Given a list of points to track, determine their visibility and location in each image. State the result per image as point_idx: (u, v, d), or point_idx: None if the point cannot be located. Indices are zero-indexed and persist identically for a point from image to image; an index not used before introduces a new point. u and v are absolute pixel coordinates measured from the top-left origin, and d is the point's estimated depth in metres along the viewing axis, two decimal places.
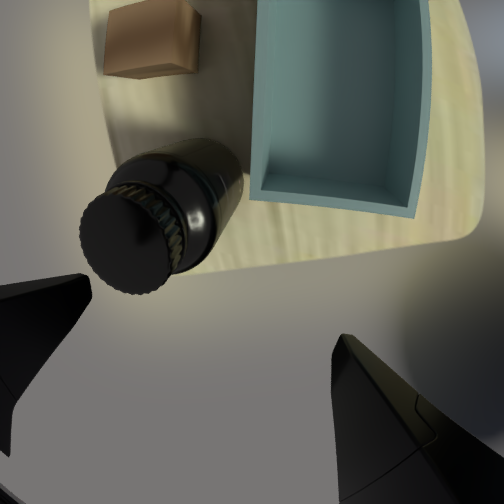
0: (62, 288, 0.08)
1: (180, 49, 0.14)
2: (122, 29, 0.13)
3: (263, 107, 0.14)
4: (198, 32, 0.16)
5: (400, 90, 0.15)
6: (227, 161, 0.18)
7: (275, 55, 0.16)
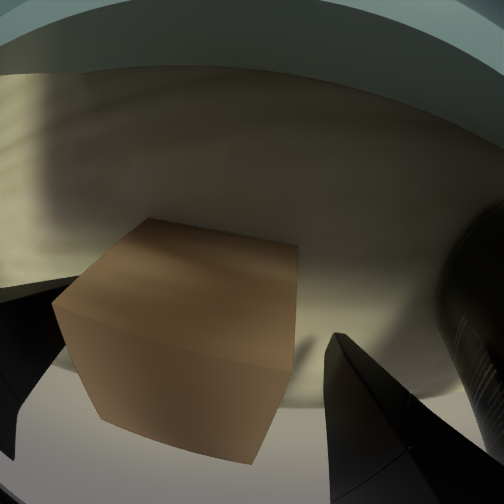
0: None
1: (239, 312, 0.06)
2: (147, 421, 0.07)
3: None
4: (188, 231, 0.09)
5: None
6: None
7: None
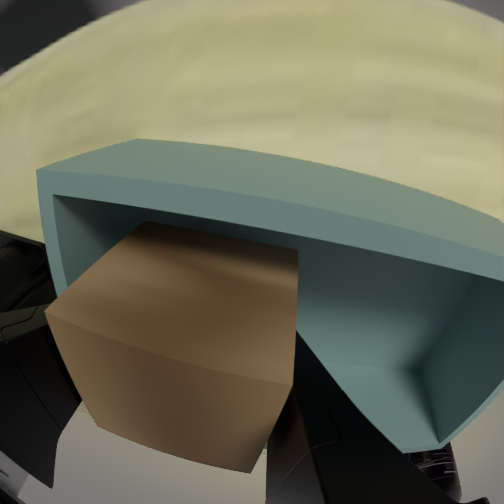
0: None
1: (237, 322, 0.06)
2: (144, 430, 0.06)
3: None
4: (186, 236, 0.09)
5: None
6: None
7: None
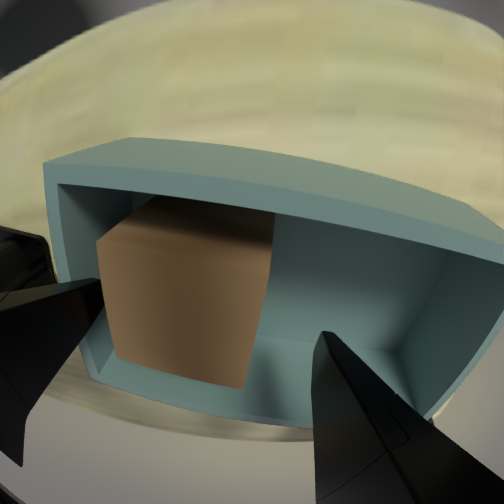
0: (76, 293, 0.08)
1: (232, 245, 0.09)
2: (158, 347, 0.09)
3: None
4: (192, 201, 0.11)
5: None
6: None
7: None
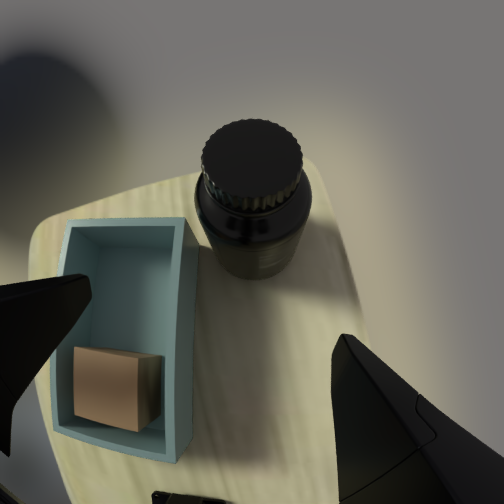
0: (62, 288, 0.08)
1: None
2: (118, 401, 0.15)
3: (169, 295, 0.17)
4: None
5: (83, 326, 0.20)
6: (215, 254, 0.21)
7: None
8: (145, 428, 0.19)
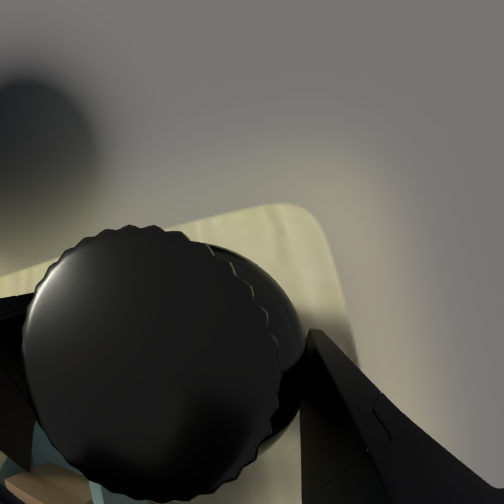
0: None
1: None
2: None
3: None
4: None
5: None
6: None
7: None
8: None
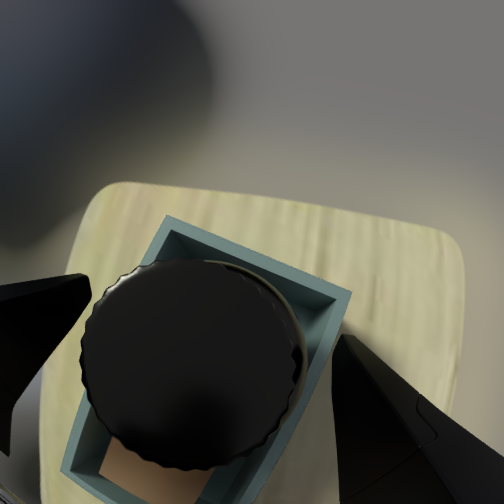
0: (62, 288, 0.08)
1: None
2: (172, 486, 0.10)
3: None
4: None
5: None
6: None
7: None
8: None
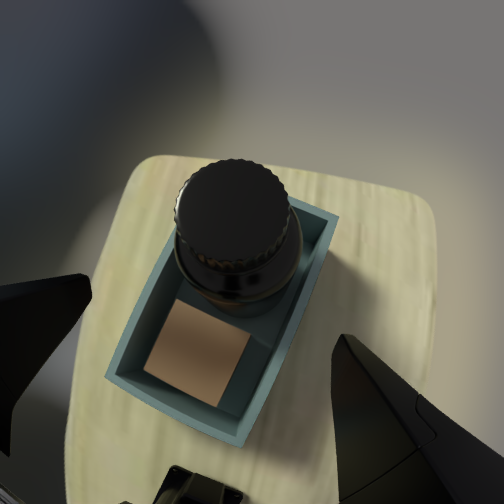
0: (62, 288, 0.08)
1: None
2: (208, 370, 0.16)
3: (305, 283, 0.18)
4: None
5: (177, 279, 0.21)
6: None
7: (272, 344, 0.21)
8: (201, 402, 0.20)
